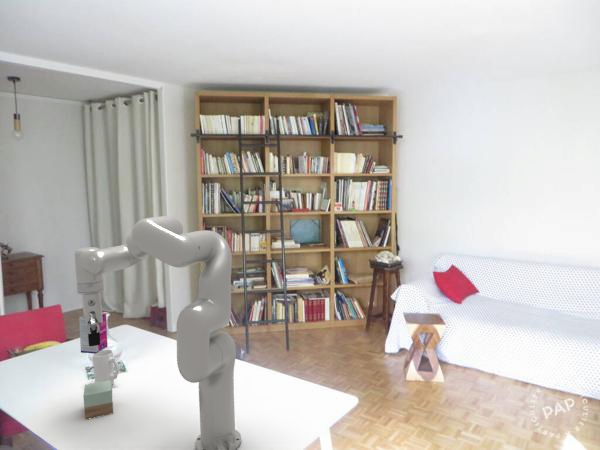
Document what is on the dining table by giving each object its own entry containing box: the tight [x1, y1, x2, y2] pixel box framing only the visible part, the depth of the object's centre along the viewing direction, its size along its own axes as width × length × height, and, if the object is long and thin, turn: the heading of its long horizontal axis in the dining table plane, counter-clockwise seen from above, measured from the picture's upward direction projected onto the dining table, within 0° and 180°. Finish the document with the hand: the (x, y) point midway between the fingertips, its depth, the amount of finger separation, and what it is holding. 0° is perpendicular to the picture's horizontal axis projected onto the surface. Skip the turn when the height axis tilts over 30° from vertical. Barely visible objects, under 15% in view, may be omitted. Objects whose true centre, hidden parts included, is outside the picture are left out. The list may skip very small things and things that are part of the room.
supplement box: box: [78, 312, 109, 355], centre depth 138 cm, size 6×6×12 cm
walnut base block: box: [84, 401, 114, 420], centre depth 140 cm, size 8×8×4 cm
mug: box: [92, 348, 120, 386], centre depth 157 cm, size 10×7×12 cm, turn 70°
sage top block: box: [83, 380, 113, 409], centre depth 140 cm, size 8×8×4 cm
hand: (94, 340), depth 138 cm, fingers closed on supplement box, 7 cm apart
